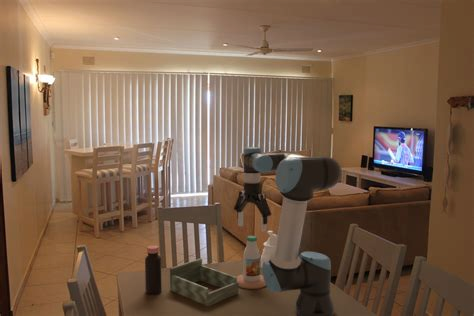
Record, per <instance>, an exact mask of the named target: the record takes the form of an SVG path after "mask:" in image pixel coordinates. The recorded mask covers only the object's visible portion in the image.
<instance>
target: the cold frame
mask: <svg viewBox="0 0 474 316" xmlns="http://www.w3.org/2000/svg"><path fill="white" fill-rule="evenodd" d="M169 278H170V279H169V280H170V281H169V283H170V284H169V285H170V286H169V288H170V289H169V290H170V291H171V292H174V293H176V294H179V295H181V296H183V297H186V298H187V299H190V300H192V301H194V302H196V303H200V304H202V305H203V306H207V307H211V306H213V305H215V304H218V303H219V302H222V301H224V300H226V299H229V298H231V297H233V296H235V295H238V294H239V292H240V291H239V288H240V287H239V282H237V276H235V275H232V274H229V273H226V272H223V271H221V270H217V269H214V268H212V267H208V266H206V265H203V258H201V257H200V258H198V259H194V260H191V261H188V262H185V263H182V264H178V265H175V266H173V267H170V268H169ZM200 281H202V282H204V283H207V284H209V285H211V286H215V287H218V288H217V289H215V290H213V291H210V292H209V288H208V287H205V286H204V285H201V284H198V283H197V282H200Z"/></svg>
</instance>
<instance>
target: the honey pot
mask: <svg viewBox="0 0 474 316" xmlns="http://www.w3.org/2000/svg"><path fill="white" fill-rule="evenodd" d="M273 232H274V231H273V230H268V231H267V235H269V237H268V239H267V241H265V242H263V244H262V245H263V246H264V248H263V249H262V254H260V269H262V265H263V263H264V262H265V261H269V260H270V255H271V253H272V252H274V251H275V248H276V241H277V235H278V234H275V233H273Z"/></svg>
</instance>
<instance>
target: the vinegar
mask: <svg viewBox="0 0 474 316" xmlns="http://www.w3.org/2000/svg"><path fill="white" fill-rule="evenodd" d="M159 251H160V247H159V245H156V244H155V245H148V246H146V252H147V253H146V254H147V255H146V256H145V258H144V266H145V267H144V268H145V269H144V271H145V272H144V273H145V274H144V275H145V293H146V294H147V295H158V294H160V293H162V257H161V256H160V255H159Z"/></svg>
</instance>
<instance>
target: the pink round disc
mask: <svg viewBox="0 0 474 316" xmlns="http://www.w3.org/2000/svg"><path fill="white" fill-rule="evenodd" d="M236 277H237V282H239V288H241V289H247V290H257V289H263V288H265V287H267V286H266V284H265V281H264V277H263V274H260V280H259V281H257V282H247V281H245V280H244V279H243V273H242V274H239V275H237V276H236Z"/></svg>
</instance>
